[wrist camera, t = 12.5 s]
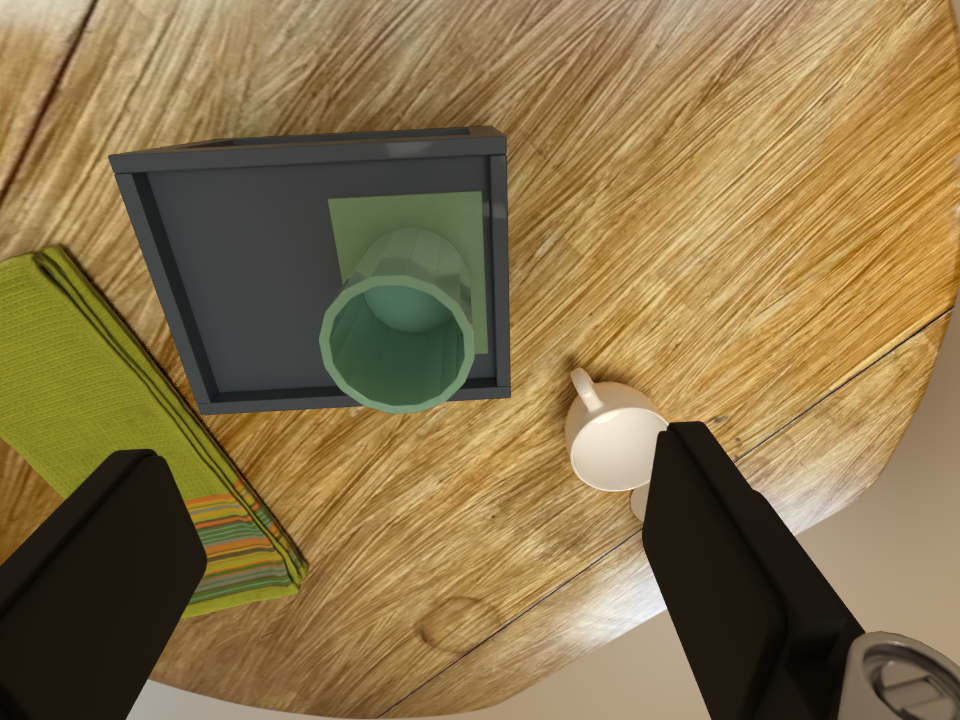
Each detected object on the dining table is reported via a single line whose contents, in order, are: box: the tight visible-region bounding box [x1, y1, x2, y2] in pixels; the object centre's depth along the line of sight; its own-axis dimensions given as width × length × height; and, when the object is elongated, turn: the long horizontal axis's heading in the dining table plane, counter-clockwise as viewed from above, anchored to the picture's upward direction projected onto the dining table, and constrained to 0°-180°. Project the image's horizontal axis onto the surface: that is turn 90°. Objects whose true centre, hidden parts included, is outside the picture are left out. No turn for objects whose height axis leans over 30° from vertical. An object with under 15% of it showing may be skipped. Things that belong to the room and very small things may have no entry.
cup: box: [565, 367, 669, 491], centre depth 39 cm, size 8×10×7 cm
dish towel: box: [0, 244, 309, 619], centre depth 42 cm, size 15×36×3 cm, turn 20°
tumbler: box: [319, 228, 475, 414], centre depth 23 cm, size 6×6×8 cm
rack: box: [108, 126, 511, 415], centre depth 31 cm, size 14×18×11 cm
